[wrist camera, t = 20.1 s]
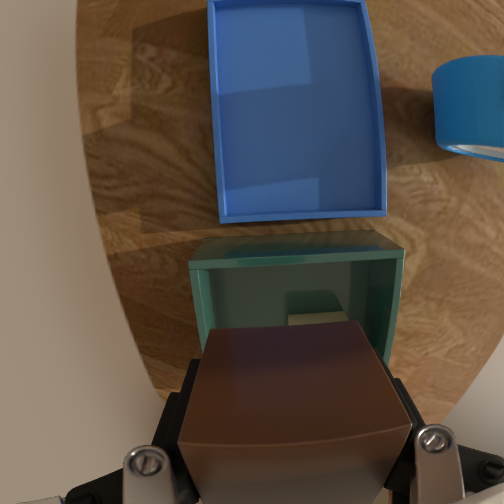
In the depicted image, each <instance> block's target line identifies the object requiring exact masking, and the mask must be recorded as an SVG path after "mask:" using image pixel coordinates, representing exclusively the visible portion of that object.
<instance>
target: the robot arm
mask: <svg viewBox="0 0 504 504" xmlns="http://www.w3.org/2000/svg"><path fill="white" fill-rule="evenodd" d="M373 350H374V352H375V354H376V355H377V357H378V359H379V361H380V363H381V364H382V366H383V368H384V370H385V372H386V374H387V376H388V377H389V379H390V381H391V383H392V385H393V387H394V389H395V391H396V393H397V395H398V396H399V398H400V400H401V402H402V404H403V406H404V408H405V410H406V412H407V414H408V416H409V418H410V420H411V422H412V428H411V430H410V433H409V435H408V437H407V439H406V442H405V444H404V446H403V448H402V450H401V453H400V455H399V457H398V459H397V461H396V463H395V465H394V467H393V469H392V471H391V473H390V475H389V476H388V478H387V480H386V482H385V484H384V488H386V489H389V491H388V504H504V459H503V458H502V457H500V456H497V455H494V454H490V453H486V452H482V451H479V450H475V449H471V448H468V447H464V446H461V445H458V444H457V441H456V437H455V435H454V433H453V432H452V430H450V429H449V428H448V427H446V426H443V425H441V424H429V425H425V423H424V421H423V419H422V417H421V415H420V413H419V412H418V410H417V408H416V406H415V404H414V403H413V401H412V399H411V397H410V395H409V394H408V392H407V390H406V388H405V387H404V385H403V383H402V381H401V380H400V379H399V378H393V376H392V374H391V372H390V371H389V369H388V367H387V365H386V363H385V362H384V360H383V358H382V356H381V355H380V353H379V351H378V350H377V348H373ZM200 361H201V359H191V361H190V364H189V367H188V370H187V373H186V376H185V379H184V382H183V385H182V388H181V391H180V393H178V392H171V393H170V395H169V397H168V399H167V402H166V405H165V408H164V410H163V413H162V416H161V418H160V421H159V424H158V427H157V430H156V432H155V435H154V438H153V441H152V444H151V445H142V446H138V447H136V448H134V449H132V450H131V451H130V452H128V454H127V455H126V456H125V458H124V462H123V468H121V469H119V470H117V471H115V472H112V473H110V474H108V475H105V476H103V477H100V478H98V479H95V480H93V481H90V482H88V483H85V484H82V485H80V486H77V487H75V488H73V489H72V490H71V491H69V492H68V494H67V495H66V497H64V498H61V497H60V496H55V497H50V498H45V499H40V500H35V501H29V502H23V503H18V504H196V503H197V502H199V498H200V496H199V494H198V492H197V489H196V487H195V485H194V483H193V480H192V478H191V476H190V474H189V471H188V469H187V466H186V464H185V462H184V459H183V457H182V454H181V452H180V449H179V447H178V444H177V442H178V439H179V435H180V431H181V428H182V424H183V421H184V417H185V414H186V410H187V406H188V403H189V399H190V396H191V392H192V389H193V385H194V382H195V378H196V375H197V371H198V368H199V364H200Z"/></svg>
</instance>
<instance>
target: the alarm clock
mask: <svg viewBox="0 0 504 504" xmlns="http://www.w3.org/2000/svg"><path fill="white" fill-rule="evenodd" d="M432 88H433V100H434V115H435V141H436V143H437V145H438V146H439V147H440V148H442V149H444V150H447V151H451V152H454V153H458V154H463V155H467V156H472V157H477V158H483V159H488V160H493V161H499V162H504V56H498V55H478V56H469V57H463V58H459V59H455V60H452V61H449V62H447V63H445V64H443V65H441V66H440V67H438V68H437V69H436V70H435V71H434V73H433V75H432Z"/></svg>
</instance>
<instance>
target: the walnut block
mask: <svg viewBox="0 0 504 504" xmlns="http://www.w3.org/2000/svg"><path fill="white" fill-rule="evenodd" d="M411 428H412V422H411V420H410V418H409V416H408V414H407V412H406V410H405V408H404V406H403V404H402V402H401V400H400V398H399V396H398V395H397V393H396V391H395V389H394V387H393V385H392V383H391V381H390V379H389V377H388V376H387V374H386V372H385V370H384V368H383V366H382V364H381V363H380V361H379V359H378V357H377V355H376V354H375V352H374V350H373V348H372V346H371V345H370V343H369V341H368V339H367V337H366V336H365V334H364V332H363V330H362V329H361V327H360V325H359V323H358V322H357V320H351V321H341V322H330V323H318V324H304V325H289V326H272V327H250V328H213V329H210V330H209V334H208V337H207V340H206V344H205V347H204V351H203V354H202V357H201V361H200V364H199V368H198V371H197V375H196V378H195V382H194V385H193V389H192V392H191V396H190V399H189V403H188V406H187V410H186V414H185V417H184V421H183V424H182V428H181V431H180V435H179V439H178V442H177V444H178V447H179V449H180V452H181V454H182V457H183V459H184V462H185V464H186V466H187V469H188V471H189V474H190V476H191V478H192V480H193V483H194V485H195V487H196V489H197V492H198V494H199V496H200V498H201V500H202V502H203V504H373V503H374V501H375V500H376V498H377V496H378V494H379V493H380V491H381V489H382V488H383V486H384V484H385V482H386V480H387V478H388V476H389V475H390V473H391V471H392V469H393V467H394V465H395V463H396V461H397V459H398V457H399V455H400V453H401V450H402V448H403V446H404V444H405V442H406V439H407V437H408V435H409V433H410V430H411Z"/></svg>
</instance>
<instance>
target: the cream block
mask: <svg viewBox="0 0 504 504" xmlns="http://www.w3.org/2000/svg"><path fill="white" fill-rule="evenodd" d="M341 321H349V319H348V318H347V316H346V314H345V312H344V311H338V312H324V313H310V314H293V315H288V326H289V325H304V324H318V323H330V322H341Z"/></svg>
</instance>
